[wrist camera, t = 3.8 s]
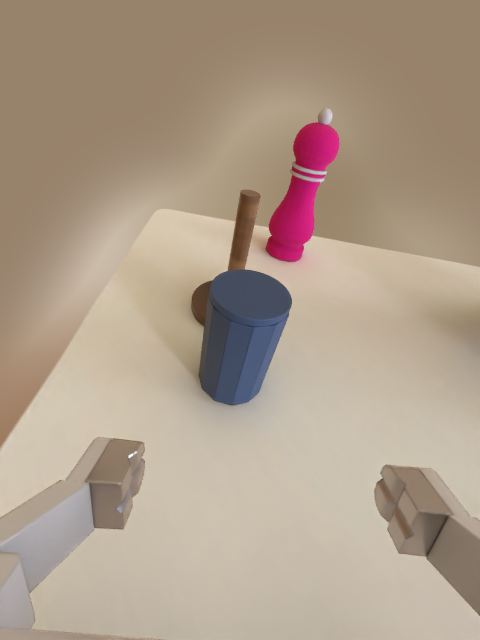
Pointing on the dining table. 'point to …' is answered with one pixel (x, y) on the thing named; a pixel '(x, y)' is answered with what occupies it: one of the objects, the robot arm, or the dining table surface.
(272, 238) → the pepper mill
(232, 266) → the peg stand
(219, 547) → the dining table surface
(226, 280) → the blue cylinder
